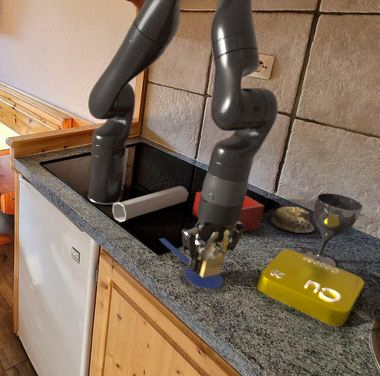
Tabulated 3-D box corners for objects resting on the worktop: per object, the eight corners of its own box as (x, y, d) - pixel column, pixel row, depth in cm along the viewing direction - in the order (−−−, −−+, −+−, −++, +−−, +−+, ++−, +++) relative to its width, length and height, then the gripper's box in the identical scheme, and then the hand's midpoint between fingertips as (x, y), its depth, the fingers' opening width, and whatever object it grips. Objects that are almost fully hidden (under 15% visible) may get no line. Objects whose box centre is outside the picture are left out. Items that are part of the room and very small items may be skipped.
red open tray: (192, 213, 110) (196, 192, 108) (226, 208, 114) (231, 187, 111) (221, 235, 101) (227, 212, 98) (258, 228, 104) (264, 205, 101)
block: (188, 265, 85) (192, 247, 83) (205, 261, 86) (210, 244, 84) (202, 277, 81) (207, 259, 79) (220, 273, 82) (225, 255, 80)
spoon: (147, 243, 96) (147, 240, 96) (174, 238, 99) (174, 235, 98) (200, 295, 80) (201, 291, 80) (231, 287, 82) (231, 284, 82)
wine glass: (303, 246, 97) (323, 190, 91) (342, 260, 92) (366, 202, 86) (292, 259, 92) (313, 200, 86) (333, 275, 87) (357, 214, 81)
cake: (269, 230, 105) (273, 211, 103) (271, 214, 113) (274, 196, 111) (315, 238, 100) (319, 218, 98) (313, 221, 108) (317, 203, 106)
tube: (176, 183, 119) (111, 201, 107) (191, 184, 114) (124, 203, 102) (178, 201, 120) (113, 220, 108) (192, 202, 115) (127, 223, 103)
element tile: (359, 295, 81) (368, 276, 79) (338, 333, 72) (348, 312, 70) (279, 262, 91) (285, 244, 89) (252, 291, 81) (258, 272, 79)
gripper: (238, 182, 81) (219, 253, 89) (178, 191, 77) (164, 264, 84) (267, 199, 75) (245, 273, 83) (204, 209, 71) (186, 287, 78)
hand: (204, 268), depth 83 cm, fingers closed on block, 4 cm apart
